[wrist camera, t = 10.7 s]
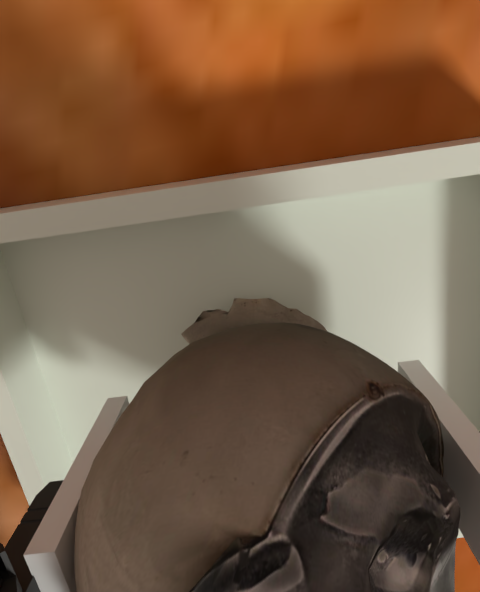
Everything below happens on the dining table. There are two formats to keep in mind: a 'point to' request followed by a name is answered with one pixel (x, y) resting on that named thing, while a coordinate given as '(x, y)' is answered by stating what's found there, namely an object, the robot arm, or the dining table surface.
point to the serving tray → (233, 281)
